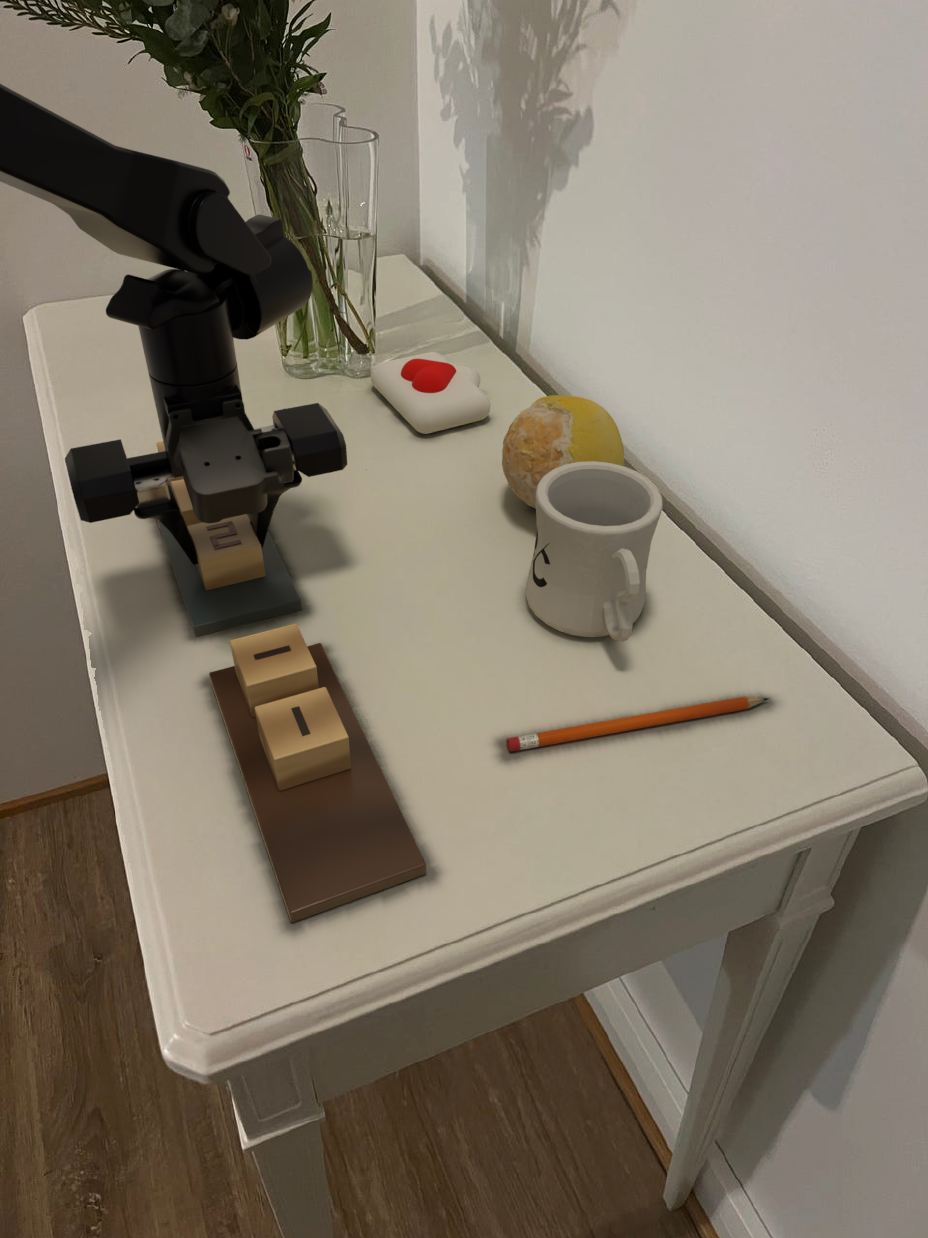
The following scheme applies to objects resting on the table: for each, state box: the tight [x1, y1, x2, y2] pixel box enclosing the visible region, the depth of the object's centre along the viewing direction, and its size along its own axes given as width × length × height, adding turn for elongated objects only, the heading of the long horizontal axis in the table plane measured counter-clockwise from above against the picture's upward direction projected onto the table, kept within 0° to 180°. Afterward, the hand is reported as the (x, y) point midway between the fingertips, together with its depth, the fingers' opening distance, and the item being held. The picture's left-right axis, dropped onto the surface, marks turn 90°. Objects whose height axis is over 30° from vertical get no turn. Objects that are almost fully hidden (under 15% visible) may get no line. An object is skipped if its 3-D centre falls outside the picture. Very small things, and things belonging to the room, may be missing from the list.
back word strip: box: [155, 441, 303, 637], centre depth 76 cm, size 22×8×4 cm, turn 24°
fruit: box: [501, 394, 625, 510], centre depth 78 cm, size 10×11×10 cm
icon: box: [370, 351, 491, 435], centre depth 94 cm, size 12×4×10 cm
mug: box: [525, 461, 663, 643], centre depth 68 cm, size 12×9×10 cm
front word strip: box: [208, 623, 427, 923], centre depth 58 cm, size 20×8×4 cm, turn 24°
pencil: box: [505, 696, 771, 753], centre depth 63 cm, size 1×19×1 cm, turn 105°
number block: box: [187, 514, 265, 590], centre depth 72 cm, size 5×5×3 cm
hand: (226, 554), depth 72 cm, fingers closed on number block, 4 cm apart
